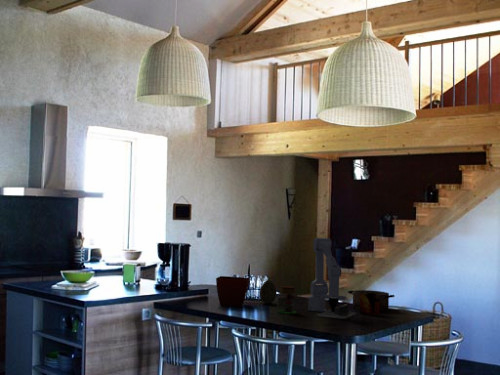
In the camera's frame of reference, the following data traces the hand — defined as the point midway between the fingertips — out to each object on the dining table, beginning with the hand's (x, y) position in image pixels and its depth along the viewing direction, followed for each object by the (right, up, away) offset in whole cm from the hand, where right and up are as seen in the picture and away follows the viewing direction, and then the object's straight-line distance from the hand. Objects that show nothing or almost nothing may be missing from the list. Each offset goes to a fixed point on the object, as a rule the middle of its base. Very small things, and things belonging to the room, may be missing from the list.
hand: (333, 311), depth 364 cm
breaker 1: (+6, -2, +5) cm, 8 cm away
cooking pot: (+28, -6, +38) cm, 48 cm away
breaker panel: (+3, -3, +6) cm, 8 cm away
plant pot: (-59, -2, +30) cm, 66 cm away
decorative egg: (-36, -4, +44) cm, 57 cm away
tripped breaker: (+2, -1, -1) cm, 3 cm away
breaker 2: (+9, -2, +11) cm, 14 cm away
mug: (+24, -5, +16) cm, 30 cm away
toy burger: (-25, -2, +8) cm, 27 cm away
